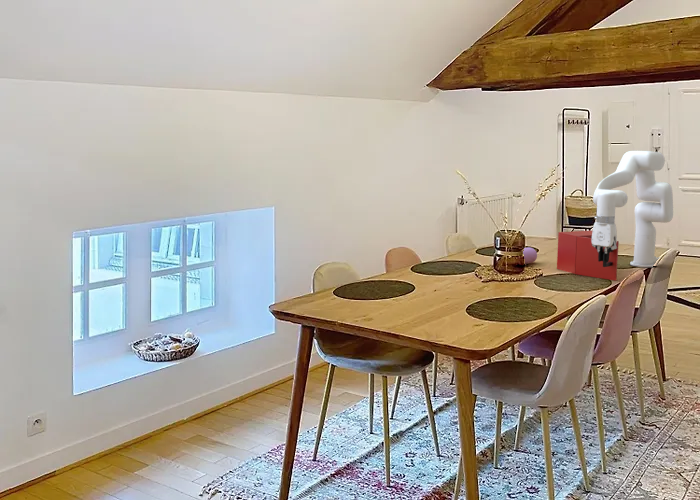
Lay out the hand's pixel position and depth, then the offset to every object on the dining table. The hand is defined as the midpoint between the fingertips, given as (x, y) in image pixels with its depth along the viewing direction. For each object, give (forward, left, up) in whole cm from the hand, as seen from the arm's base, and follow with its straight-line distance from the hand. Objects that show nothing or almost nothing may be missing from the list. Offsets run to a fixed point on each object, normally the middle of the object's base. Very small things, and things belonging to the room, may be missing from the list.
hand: (603, 261), depth 313 cm
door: (-1, -8, -9) cm, 12 cm away
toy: (+9, -48, -10) cm, 50 cm away
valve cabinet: (-10, -26, -9) cm, 30 cm away
